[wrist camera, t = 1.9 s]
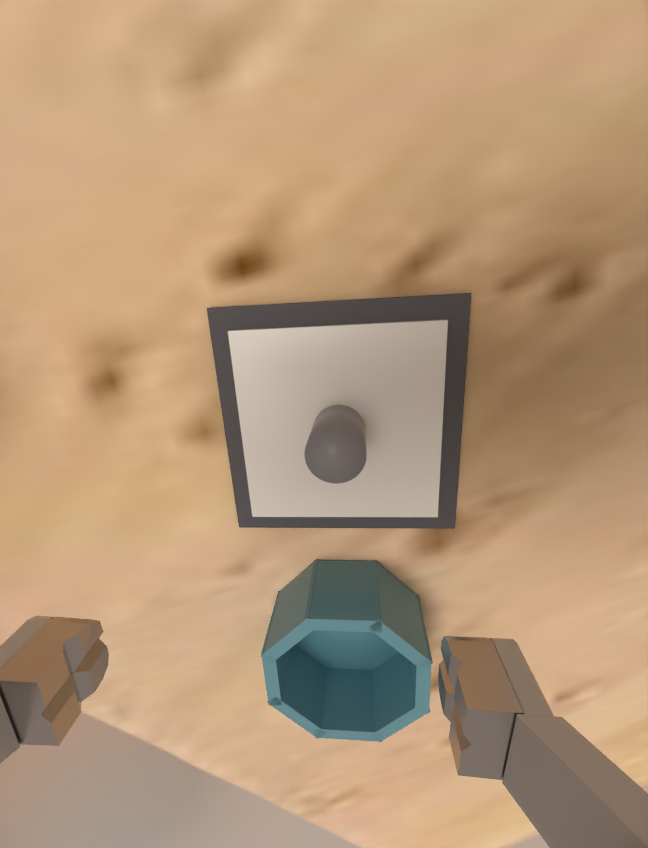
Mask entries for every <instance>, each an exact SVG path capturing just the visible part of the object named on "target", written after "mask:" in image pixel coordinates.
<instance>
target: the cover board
mask: <svg viewBox="0 0 648 848" xmlns="http://www.w3.org/2000/svg"><path fill="white" fill-rule="evenodd" d="M447 330H448V320H425V321H405V322H385V323H365V324H345V325H325V326H305V327H285V328H265V329H245V330H230V331H228V337H229V345H230V352H231V360H232V367H233V375H234V382H235V390H236V398H237V405H238V413H239V420H240V428H241V435H242V443H243V450H244V458H245V465H246V473H247V480H248V488H249V495H250V503H251V511H252V517H438V504H439V485H440V465H441V446H442V427H443V407H444V388H445V369H446V349H447Z"/></svg>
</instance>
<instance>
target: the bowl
mask: <svg viewBox="0 0 648 848" xmlns="http://www.w3.org/2000/svg"><path fill="white" fill-rule="evenodd" d="M261 657H262V661H263V668H264V675H265V682H266V689H267V696H268V704H269V705H271V706H273V707H274V708H275V709H277V710H278V711H280V712H281V713H283V714H284V715H285V716H287V717H288V718H290V719H291V720H293V721H294V722H295V723H297V724H298V725H300V726H301V727H303V728H304V729H305V730H307V731H308V732H310V733H311V734H312V735H314V736H315V738H331V739H347V740H363V741H379V742H382V740H384V739H386V738H387V737H389V736H391V735H392V734H394V733H396V732H397V731H399V730H401V729H402V728H404V727H406V726H407V725H409V724H411V723H412V722H414V721H415V720H417V719H419V718H420V717H422V716H424V715H425V714H427V713H429V712H430V709H429V700H430V681H431V664H432V663H433V662H432V657H431V653H430V648H429V643H428V638H427V633H426V628H425V624H424V619H423V614H422V609H421V604H420V599H419V596H418V595H416V594H415V593H414V592H413V591H411V590H410V589H409V588H408V587H407V586H405V585H404V584H403V583H402V582H401V581H399V580H398V579H397V578H396V577H395V576H393V575H392V574H391V573H390V572H389V571H387V570H386V569H385V568H384V567H382V566H381V565H380V564H379V563H378V562H377V561H375V560H374V561H348V560H314V562H313V563H312V564H311V565H310V566H309V567H307V568H306V569H305V570H304V571H303V572H302V573H301V574H299V575H298V576H297V577H296V578H295V579H294V580H293V581H291V582H290V583H289V584H288V585H287V586H286V587H285V588H283V589H282V590H281V591H280V592H278V595H277V598H276V602H275V606H274V609H273V613H272V617H271V620H270V624H269V628H268V631H267V635H266V639H265V642H264V646H263V650H262V653H261Z"/></svg>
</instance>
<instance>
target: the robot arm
mask: <svg viewBox="0 0 648 848" xmlns="http://www.w3.org/2000/svg"><path fill="white" fill-rule="evenodd" d="M102 633H103V630H102V626H101V623H100V621H97V620H90V619H77V618H64V617H48V616H35V617H33V618H31V619H29V620H27V621H26V622H25V623H24V624H23V625H22V626H21V627H20V628H19V629H18V630H17V631H16V632H15V633H14V634H13V635H11V636H10V637H9V638H8V639H7V640H6V641H5V642H4V643H3V644H2V645H1V646H0V763H1V762H3V761H4V760H5V759H6V758H7V757H8V756H10V755H11V754H12V753H13V752H15V751H16V750H17V749H18V748H19V747H20V745H19V744H27V745H54V746H56V745H57V746H59V745H60V743H61V741H62V740H63V739H64V737H65V736H66V734H67V733H68V731H69V730H70V728H71V727H72V725H73V724H74V722H75V721H76V719H77V718H78V716H79V715H80V713H81V702H82V701H83V700H84V699H86V698H87V697H88V696H90V695H91V694H92V693H94V692H95V691H96V689H97V687H98V686H99V684H100V683H101V681H102V680H103V677H104V674H105V672H106V669H107V666H108V656H109V654H108V649H107V646H106V645H105V644H104V643H103V642H102V641H101V640H100V639H99V638H100V636H101V634H102ZM441 651H442V655H443V659H444V660H443V661H442V662H441V663H440V664H439V674H438V678H439V692H440V699H441V704H442V709H443V713H444V715H445V716H446V717H447V718H448V720H449V721H450V722H451V725H450V733H449V739H450V744H451V748H452V752H453V756H454V760H455V765H456V769H457V773H458V775H461V776H470V777H479V778H489V779H498V780H503V782H502V783H503V784H504V786H505V787H506V788H507V790H508V791H509V792H510V794H511V795H512V797H513V798H514V799H515V801H516V802H517V803H518V805H519V806H520V807H521V809H522V810H523V812H524V813H525V814H526V816H527V817H528V818H529V820H530V821H531V823H532V824H533V825H534V827H535V828H536V829H537V831H538V832H539V833H540V835H541V836H542V837H543V839H544V840H545V841H546V843H547V844H548V846H549V847H550V848H648V793H647V792H645V791H644V790H643V789H642V788H641V787H640V786H639V785H638V784H636V783H635V782H634V781H633V780H632V779H631V778H630V777H629V776H628V775H626V774H625V773H624V772H623V771H622V770H621V769H620V768H619V767H617V766H616V765H615V764H614V763H613V762H612V761H611V760H610V759H608V758H607V757H606V756H605V755H604V754H603V753H602V752H601V751H600V750H598V749H597V748H596V747H595V746H594V745H593V744H592V743H591V742H589V741H588V740H587V739H586V738H585V737H584V736H583V735H582V734H580V733H579V732H578V731H577V730H576V729H575V728H574V727H573V726H572V725H570V724H569V723H568V722H567V721H566V720H565V719H564V718H563V717H557V716H554V715H553V713H552V711H551V709H550V707H549V705H548V703H547V701H546V699H545V697H544V695H543V693H542V691H541V689H540V687H539V685H538V683H537V681H536V679H535V677H534V675H533V673H532V671H531V669H530V668H529V666H528V664H527V662H526V660H525V658H524V656H523V654H522V652H521V650H520V648H519V646H518V644H517V643H516V642H515V641H514V640H513V639H498V638H489V639H488V638H479V637H451V636H444V637H443V639H442V645H441Z"/></svg>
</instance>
